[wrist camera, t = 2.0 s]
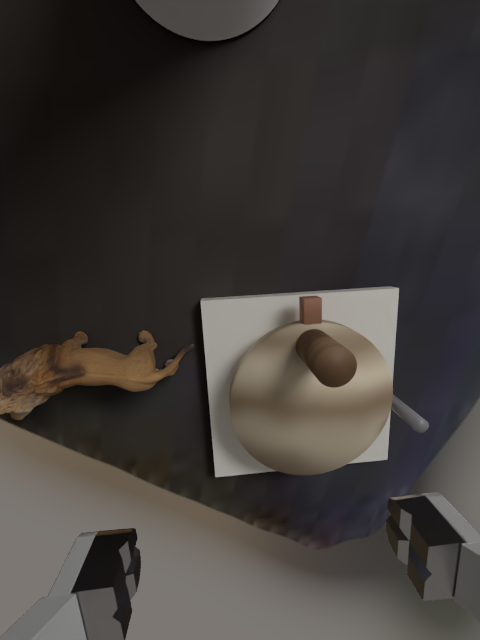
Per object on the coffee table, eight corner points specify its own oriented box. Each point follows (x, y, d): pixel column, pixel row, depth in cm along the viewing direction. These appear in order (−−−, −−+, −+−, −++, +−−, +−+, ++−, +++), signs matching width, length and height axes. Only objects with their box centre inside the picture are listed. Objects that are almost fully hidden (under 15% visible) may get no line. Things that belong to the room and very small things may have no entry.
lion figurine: (50, 385, 29) (-21, 441, 20) (36, 333, 28) (-46, 370, 19) (197, 366, 30) (189, 413, 21) (190, 316, 29) (179, 343, 20)
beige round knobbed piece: (222, 301, 25) (224, 317, 19) (389, 290, 26) (444, 302, 20) (233, 471, 29) (238, 531, 23) (379, 456, 30) (422, 510, 24)
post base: (201, 298, 28) (195, 314, 21) (389, 286, 30) (446, 297, 22) (215, 467, 33) (215, 528, 25) (379, 450, 34) (424, 504, 27)
